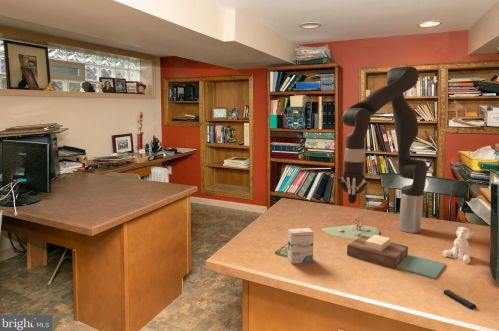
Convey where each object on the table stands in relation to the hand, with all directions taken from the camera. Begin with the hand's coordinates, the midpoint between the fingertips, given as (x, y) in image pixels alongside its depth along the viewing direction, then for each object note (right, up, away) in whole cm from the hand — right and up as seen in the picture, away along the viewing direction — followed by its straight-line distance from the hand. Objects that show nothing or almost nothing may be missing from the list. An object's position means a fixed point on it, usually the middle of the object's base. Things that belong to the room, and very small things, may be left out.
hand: (352, 203), depth 137 cm
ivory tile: (+8, -16, -5) cm, 19 cm away
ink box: (-22, -21, -8) cm, 31 cm away
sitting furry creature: (+39, -20, -6) cm, 44 cm away
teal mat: (+20, -21, -14) cm, 33 cm away
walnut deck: (+8, -20, -4) cm, 22 cm away
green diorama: (+6, -16, +22) cm, 28 cm away
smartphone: (-24, -20, +2) cm, 31 cm away
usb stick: (+21, -25, -35) cm, 48 cm away
